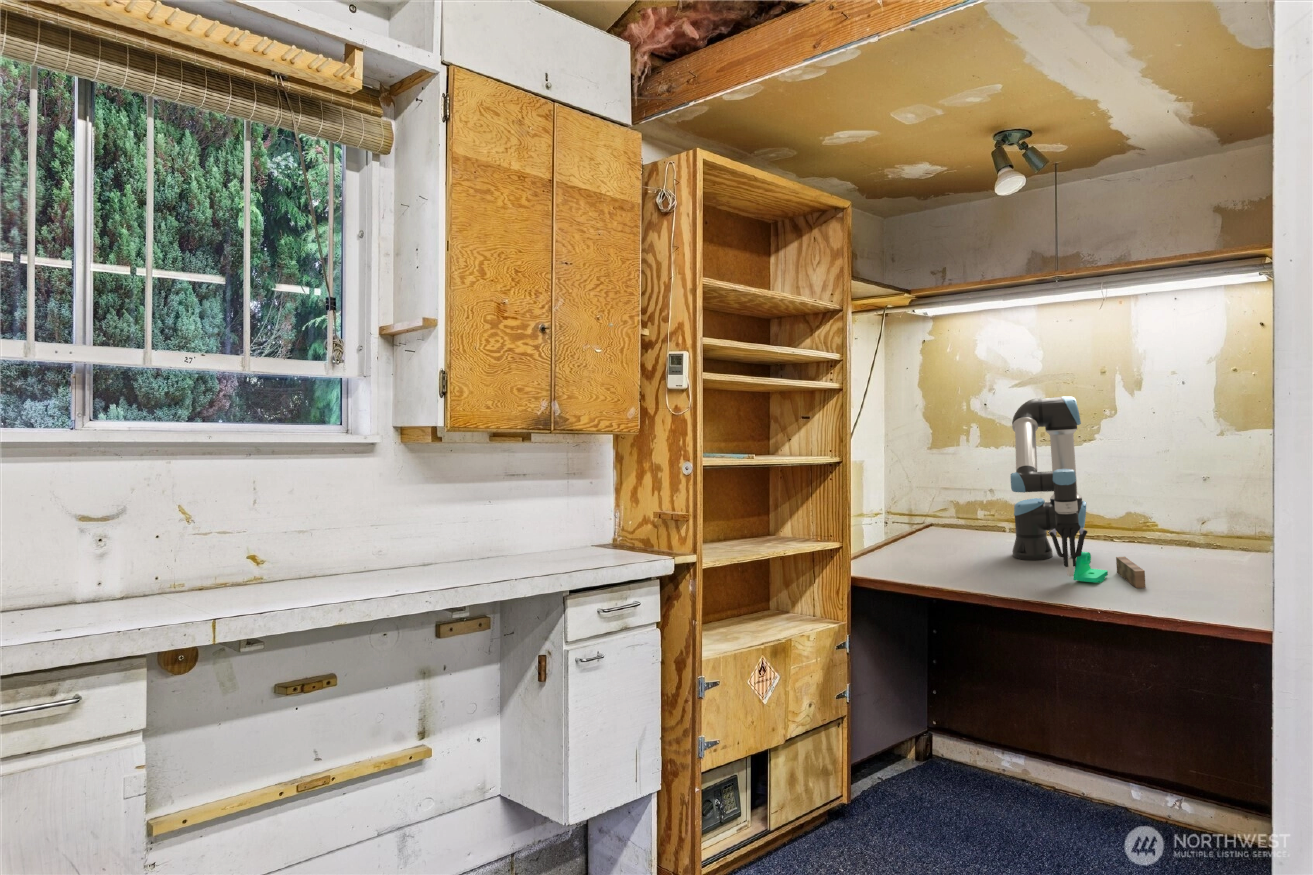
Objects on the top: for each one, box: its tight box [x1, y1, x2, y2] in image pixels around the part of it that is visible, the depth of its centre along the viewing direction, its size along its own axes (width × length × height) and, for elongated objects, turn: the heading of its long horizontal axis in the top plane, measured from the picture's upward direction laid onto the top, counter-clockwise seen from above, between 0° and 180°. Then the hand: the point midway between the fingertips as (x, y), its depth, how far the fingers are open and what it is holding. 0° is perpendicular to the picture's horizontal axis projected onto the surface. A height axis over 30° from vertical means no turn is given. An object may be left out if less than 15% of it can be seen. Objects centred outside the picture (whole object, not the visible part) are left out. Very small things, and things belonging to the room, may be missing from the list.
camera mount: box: [1073, 551, 1109, 584], centre depth 303 cm, size 12×8×10 cm, turn 132°
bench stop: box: [1115, 556, 1146, 589], centre depth 298 cm, size 20×3×6 cm, turn 168°
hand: (1070, 575), depth 303 cm, fingers closed
